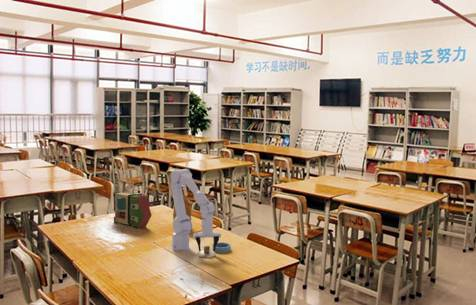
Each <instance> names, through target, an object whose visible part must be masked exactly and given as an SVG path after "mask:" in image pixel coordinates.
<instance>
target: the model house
mask: <svg viewBox="0 0 476 305" xmlns="http://www.w3.org/2000/svg"><path fill="white" fill-rule="evenodd" d="M113 212H114V216H113V223H119V224H124V225H127V226H128V227H136V228H137V229H138V230H140V229H143V228H146V227H147V226H148V224H149V222H150V219H151V217H152V215H153V214H152V212H151V208H150V205H149V201H148V199H147V195H145V194H136V193H133V194H132V193H127V192H122V191H115V192H113Z"/></svg>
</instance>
